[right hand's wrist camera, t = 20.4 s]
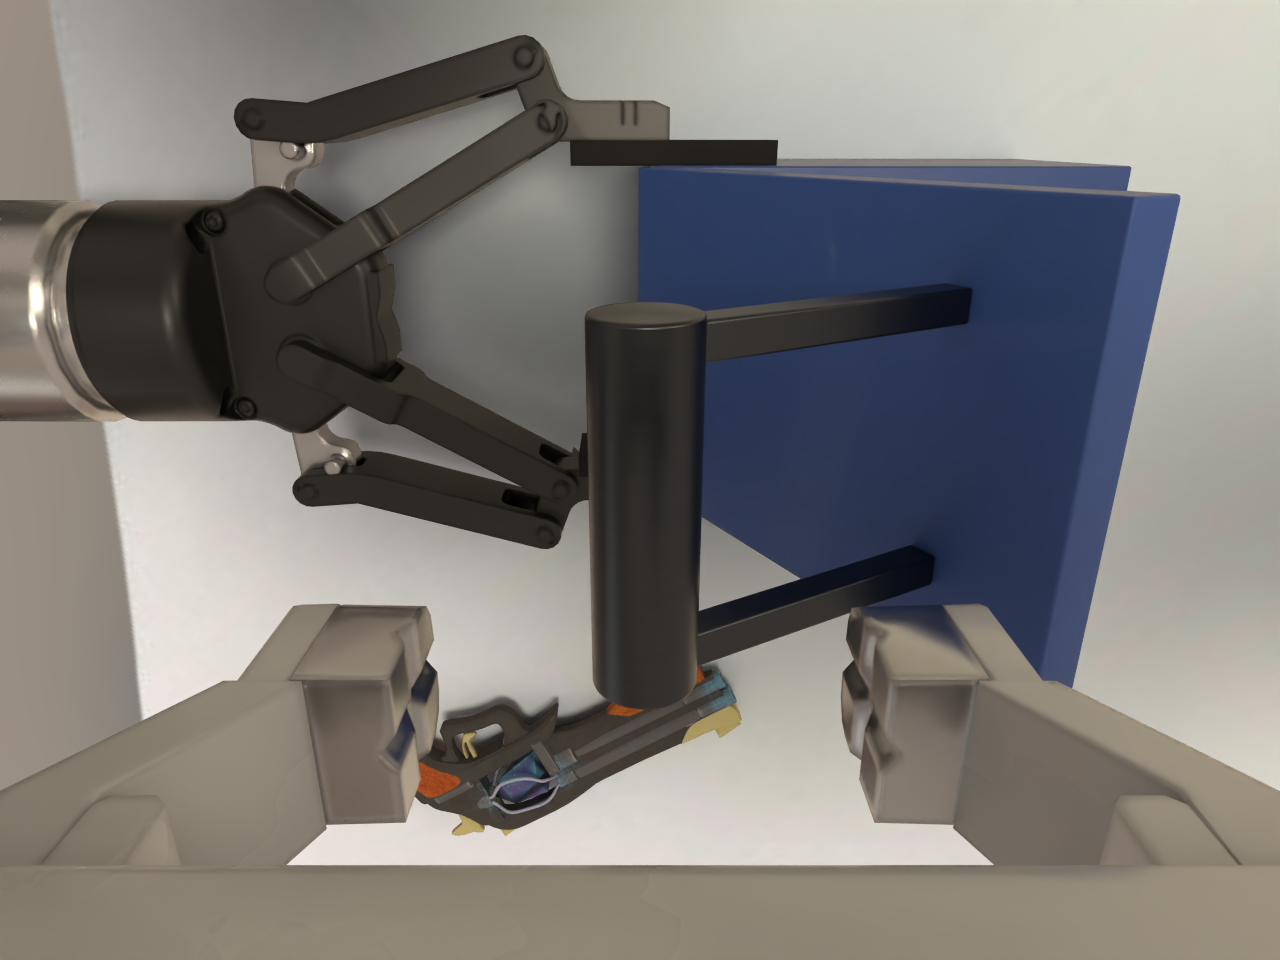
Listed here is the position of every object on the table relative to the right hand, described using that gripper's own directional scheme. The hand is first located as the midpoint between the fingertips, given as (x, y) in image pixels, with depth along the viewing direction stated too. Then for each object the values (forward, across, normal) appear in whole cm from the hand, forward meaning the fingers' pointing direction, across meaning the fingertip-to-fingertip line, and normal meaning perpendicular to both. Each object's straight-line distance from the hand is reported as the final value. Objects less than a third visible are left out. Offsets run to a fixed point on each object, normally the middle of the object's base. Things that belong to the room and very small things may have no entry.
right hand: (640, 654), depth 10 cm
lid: (+12, -5, 0) cm, 13 cm away
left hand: (+22, -4, 0) cm, 22 cm away
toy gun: (+28, +5, +22) cm, 36 cm away
